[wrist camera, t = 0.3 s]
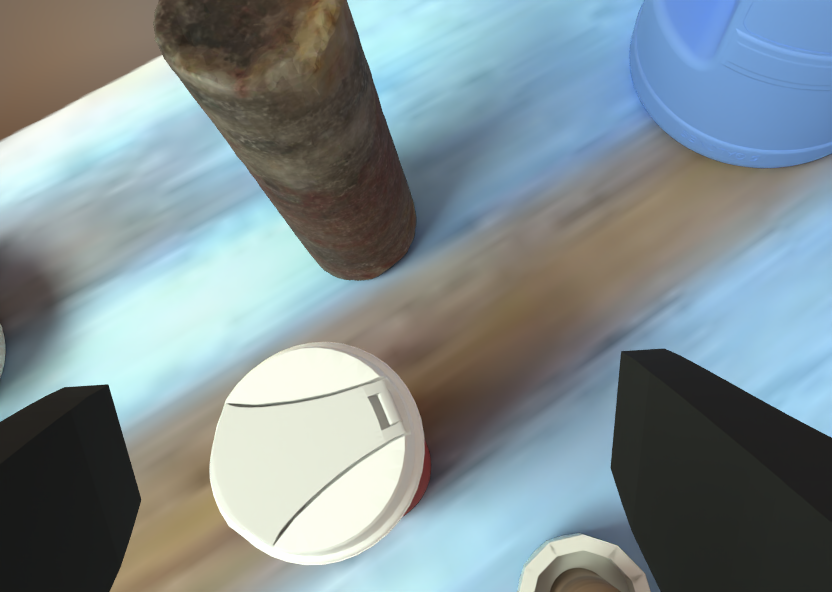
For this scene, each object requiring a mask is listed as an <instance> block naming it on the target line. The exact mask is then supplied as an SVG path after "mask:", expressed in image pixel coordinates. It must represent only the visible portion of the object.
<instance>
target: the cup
mask: <svg viewBox="0 0 832 592" xmlns="http://www.w3.org/2000/svg"><path fill="white" fill-rule="evenodd" d="M572 568H585V569H588V570H591V571H593V572H595V573H596V574H598V575H599V576H600V577H602V578H603V579H605V580H606V581H607V582H609V583H610V584H611V585H613V586H614V587H615V588H617V589H618V590H619V591H621V592H651V591H650V588H649V585H648V582H647V579H646V575H645V573H644V572H643V571H642V570H641V569H640V568H639V567H638V566H637V565H636V564H635V563H634V562H633V561H632V560H631V559H630V558H629V557H628V556H627V555H626V554H625V553H624V551H623V550H622V549H621V548H620V547H619V546H617V545H615V544H612V543H609V542H606V541H603V540H600V539H596V538H593V537H590V536H587V535H584V534H581V533H576V534H572V535H564V536H559V537H556V538H553V539H550V540H547V541H546V542H545V543H544V544H543V545H541V546H540V547H539V548H538V549H536V550H535V551H534V552H533V554H532V555H531V556H530V557H529V559H528V560H527V561H526V562H525V563H524V565H523V570H522V572H521V575H520V579H519V584H518V590H517V592H550V590H551V586H552V584H553V582H554V581H555V579H556V578H557V577H558V576H559V575H560V574H561V573H563V572H564V571H566V570H569V569H572Z"/></svg>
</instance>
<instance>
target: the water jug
mask: <svg viewBox="0 0 832 592" xmlns="http://www.w3.org/2000/svg"><path fill="white" fill-rule="evenodd" d="M629 58H630V70H631V76H632V80H633V84H634V87H635V89H636V92H637V94H638V97H639V99H640V101H641V102H642V104H643V106H644V107H645V109H646V111H647V112H648V113H649V115H650V116H651V117H652V119H653V120H654V121H655V122H656V123H657V124H658V125H659V126H660V127H661V128H662V129H663V130H664V131H665V132H666V133H667V134H668V135H670V136H671V137H672V138H673V139H675V140H676V141H678V142H679V143H681V144H682V145H684V146H685V147H687V148H689V149H691V150H693V151H694V152H696V153H699V154H701V155H703V156H706V157H708V158H711V159H714V160H717V161H720V162H723V163H727V164H732V165H737V166H743V167H752V168H779V167H788V166H794V165H799V164H803V163H807V162H811V161H814V160H817V159H820V158H822V157H825V156H827V155H829V154H832V0H644V2H643V4H642V6H641V8H640V11H639V13H638V16H637V19H636V23H635V27H634V30H633V34H632V38H631V44H630V56H629Z"/></svg>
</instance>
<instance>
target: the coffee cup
mask: <svg viewBox="0 0 832 592" xmlns="http://www.w3.org/2000/svg"><path fill="white" fill-rule="evenodd" d="M430 474H431V459H430V453H429V449H428V446H427V443H426V441H425V439H424V431H423V426H422V420H421V417H420V414H419V411H418V408H417V405H416V402H415V400H414V399H413V397H412V395H411V393H410V391H409V389H408V387H407V386H406V385H405V384H404V382H403V381H402V380H401V378H400V377H399V376H398V374H397V373H396V372H394V371H393V370H392V369H391V368H390V367H389V366H388V365H387V364H386V363H385V362H383V361H382V360H380V359H379V358H377V357H376V356H374V355H373V354H371V353H369V352H366V351H364V350H362V349H360V348H357V347H354V346H350V345H347V344H343V343H334V342H313V343H307V344H302V345H297V346H294V347H291V348H288V349H286V350H283V351H280V352H279V353H277V354H275V355H273V356H271V357H270V358H268V359H266V360H265V361H263V362H262V363H260V364H259V365H258V366H256V367H255V368H254V369H253V370H251V371H250V372H249V373H248V374H247V375H246V376H245V377H244V378H243V379H242V380H241V381H240V382H239V383H238V384H237V385H236V387H235V388H234V389H233V391H232V392H231V393H230V395H229V396H228V398H227V400H226V402H225V405H224V408H223V411H222V414H221V416H220V419H219V422H218V424H217V428H216V433H215V437H214V442H213V445H212V452H211V458H210V482H211V486H212V491H213V495H214V498H215V500H216V503H217V505H218V508H219V510H220V512H221V514H222V515H223V517H224V519H225V520H226V522H227V524H228V525H229V526H230V527H231V528H232V529H234V530H235V531H236V532H238V533H239V534H240V535H242V536H243V537H244V538H245V539H247V540H248V541H249V542H250V543H251V544H253V545H254V546H255V547H256V548H258V549H260V550H261V551H263V552H265V553H267V554H268V555H270V556H272V557H275V558H278V559H281V560H284V561H286V562H291V563H297V564H303V565H323V564H328V563H334V562H339V561H342V560H345V559H348V558H350V557H353V556H356V555H358V554H360V553H362V552H363V551H365V550H367V549H369V548H370V547H372V546H374V545H375V544H376V543H377V542H379V541H380V540H381V539H382V538H384V537H385V536H386V535H387V534H388V533H389V532H390V531H391V530H392V529H393V528H394V526H395V525H396V524H397V523H398V522H399V521H400V519H401V518H402V517H403V516H404V515H406V514H407V513H408V512H409V511H411V510H412V509H413V508H414V507H415V506H416V505H417V503H418V502H419V501H420V500H421V498H422V496H423V495H424V493H425V491H426V489H427V486H428V483H429V479H430Z"/></svg>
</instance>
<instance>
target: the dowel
mask: <svg viewBox="0 0 832 592" xmlns="http://www.w3.org/2000/svg"><path fill="white" fill-rule="evenodd" d="M550 592H621V591H619V590H618V589H617V588H615V587H614V586H613V585H611V584H610V583H609V582H607V581H606V580H605V579H603V578H602V577H600V576H599V575H598V574H596V573H595V572H593V571H591V570H588V569H585V568H572V569H569V570H566V571H564V572H563V573H561V574H560V575H559V576H558V577H557V578H556V579H555V581H554V582H553V584H552V586H551V590H550Z"/></svg>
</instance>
